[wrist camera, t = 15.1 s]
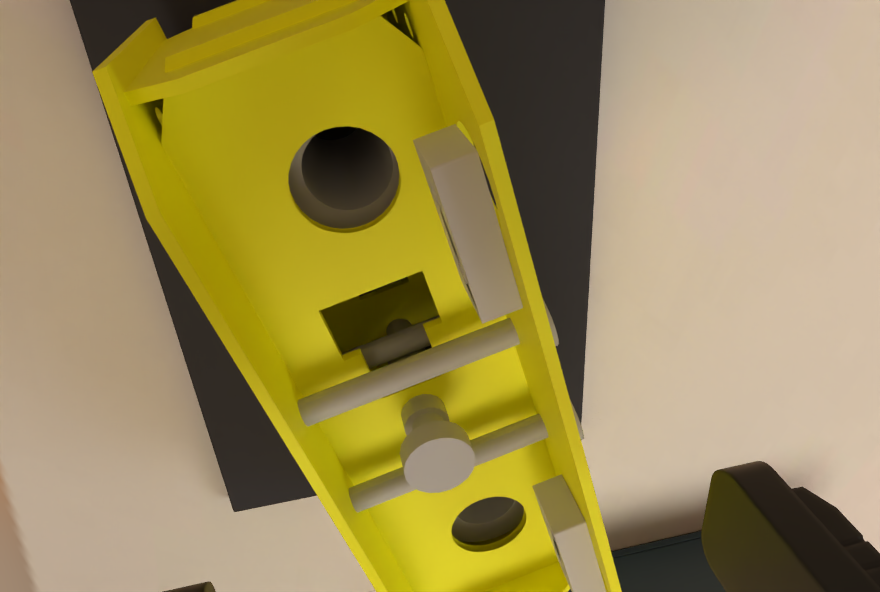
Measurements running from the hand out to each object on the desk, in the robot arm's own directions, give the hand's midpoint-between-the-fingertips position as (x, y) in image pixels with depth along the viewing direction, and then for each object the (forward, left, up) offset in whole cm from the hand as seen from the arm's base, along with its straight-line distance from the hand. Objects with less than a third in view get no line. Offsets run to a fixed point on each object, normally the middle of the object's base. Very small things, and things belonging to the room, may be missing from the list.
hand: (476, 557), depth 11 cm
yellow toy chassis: (0, 0, -10) cm, 10 cm away
